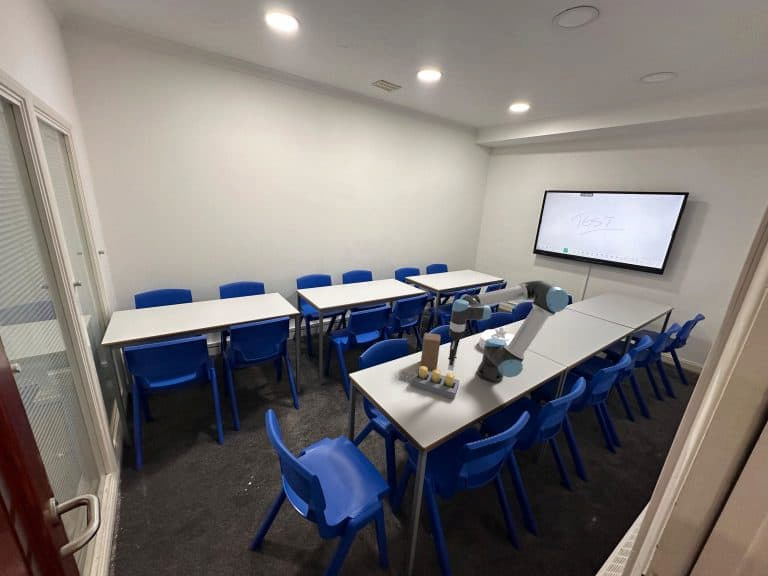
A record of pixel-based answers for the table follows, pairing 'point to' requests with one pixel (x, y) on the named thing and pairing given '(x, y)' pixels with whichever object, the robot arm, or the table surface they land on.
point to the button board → (435, 385)
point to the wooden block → (430, 351)
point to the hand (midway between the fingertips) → (450, 369)
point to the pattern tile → (406, 377)
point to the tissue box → (495, 336)
